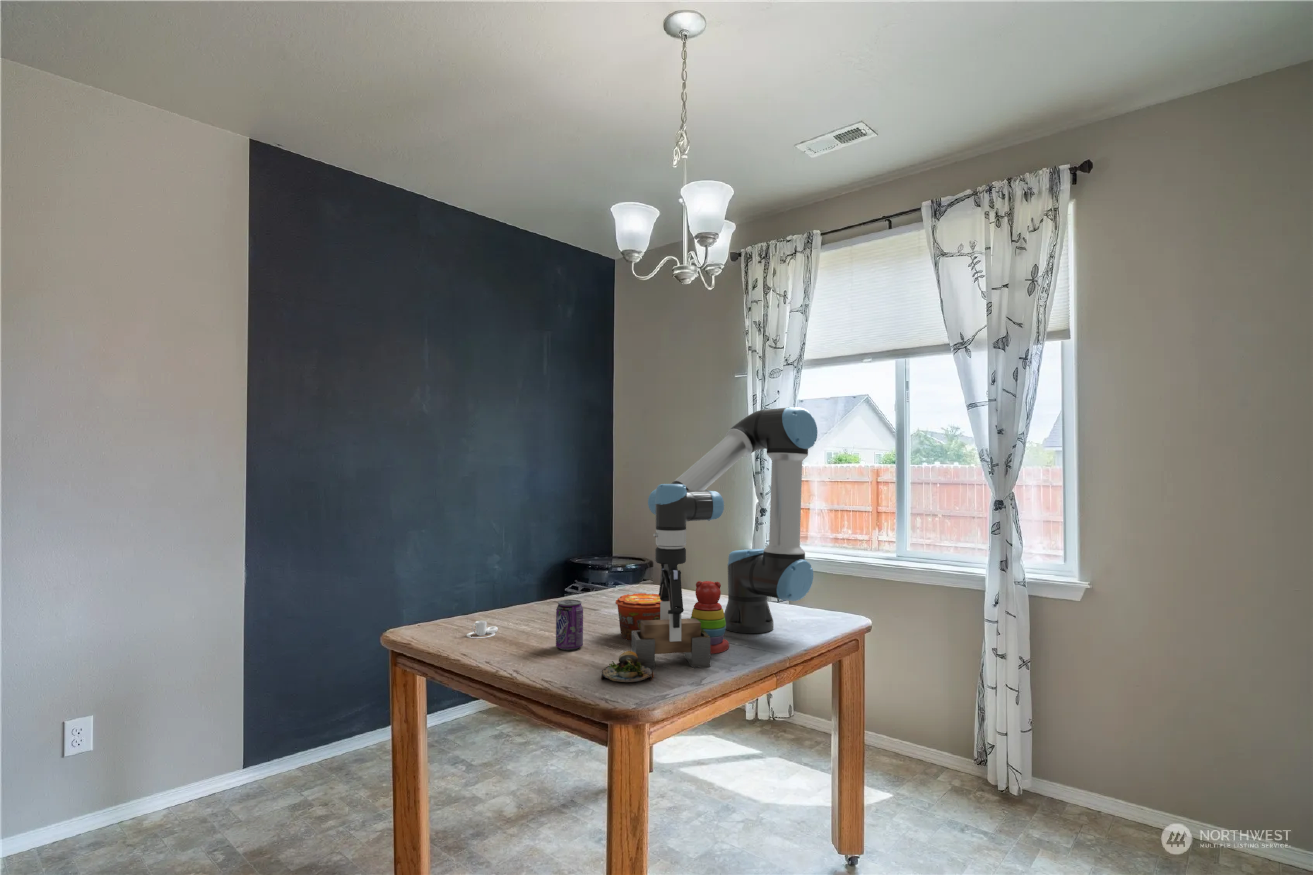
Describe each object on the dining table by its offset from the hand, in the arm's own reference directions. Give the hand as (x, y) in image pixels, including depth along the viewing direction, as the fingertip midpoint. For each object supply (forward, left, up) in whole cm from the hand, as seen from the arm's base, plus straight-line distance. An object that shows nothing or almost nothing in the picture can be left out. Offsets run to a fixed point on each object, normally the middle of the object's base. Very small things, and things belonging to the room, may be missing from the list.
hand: (670, 633), depth 169 cm
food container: (+3, -26, -7) cm, 27 cm away
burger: (+12, +10, -8) cm, 17 cm away
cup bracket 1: (+6, 0, -7) cm, 9 cm away
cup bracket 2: (-6, 0, -7) cm, 9 cm away
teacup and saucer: (+46, -33, -8) cm, 57 cm away
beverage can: (+24, -17, -7) cm, 30 cm away
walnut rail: (0, 0, -4) cm, 4 cm away
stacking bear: (-12, -11, -7) cm, 18 cm away
